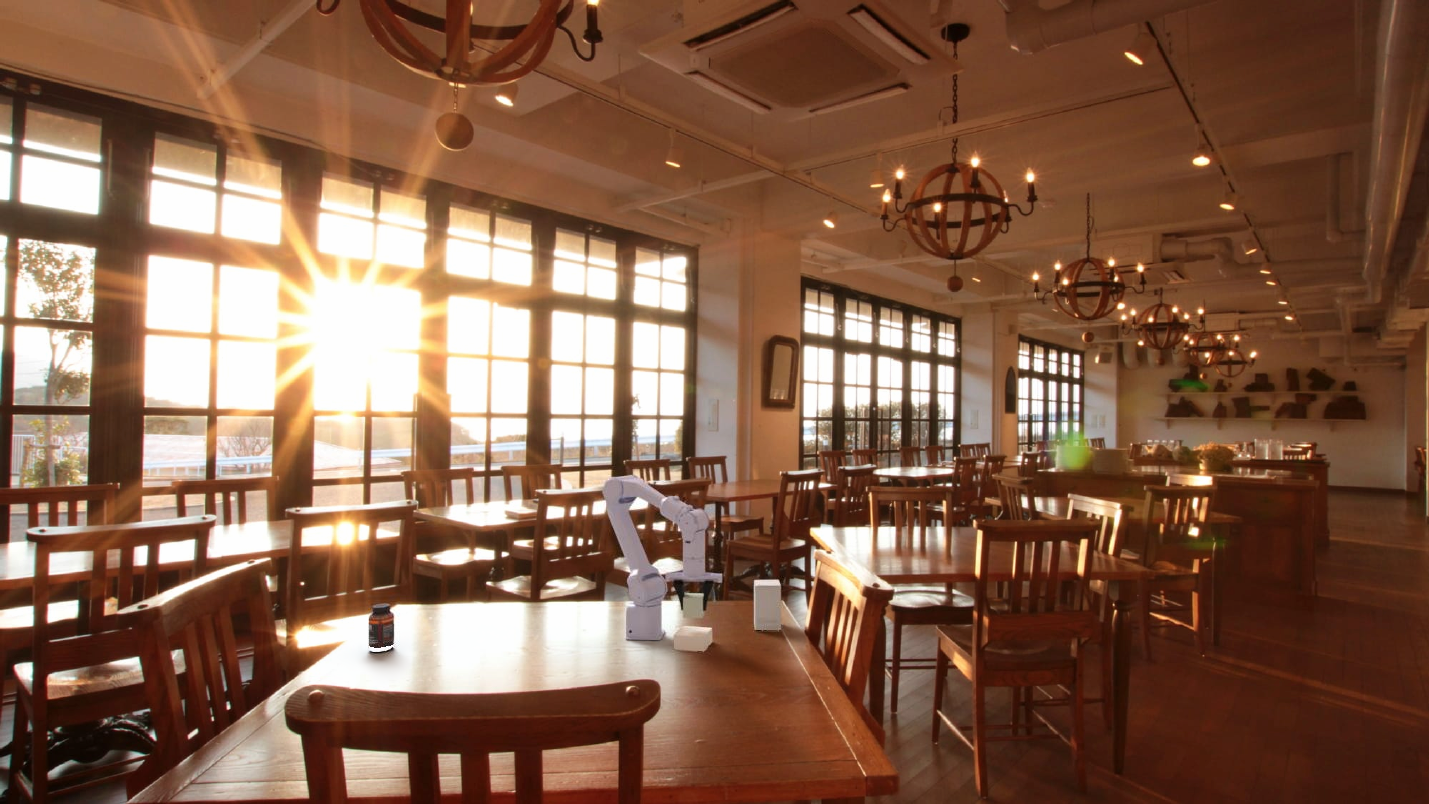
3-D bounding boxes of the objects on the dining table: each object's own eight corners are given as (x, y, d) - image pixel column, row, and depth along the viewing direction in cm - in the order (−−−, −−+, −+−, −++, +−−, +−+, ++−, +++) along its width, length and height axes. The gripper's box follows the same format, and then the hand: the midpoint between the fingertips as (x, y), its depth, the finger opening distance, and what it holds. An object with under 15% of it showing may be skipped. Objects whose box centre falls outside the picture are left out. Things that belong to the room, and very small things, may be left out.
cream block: (673, 650, 182) (673, 634, 182) (683, 640, 190) (683, 625, 190) (704, 653, 180) (703, 637, 180) (712, 643, 188) (712, 627, 188)
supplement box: (781, 631, 197) (781, 585, 197) (754, 631, 197) (754, 585, 197) (779, 623, 204) (779, 579, 204) (753, 623, 204) (753, 579, 204)
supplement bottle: (398, 646, 185) (399, 602, 185) (386, 654, 179) (386, 608, 179) (377, 645, 186) (377, 601, 186) (363, 653, 180) (363, 608, 180)
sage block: (683, 617, 182) (683, 598, 183) (685, 612, 187) (685, 593, 188) (702, 618, 182) (702, 598, 182) (704, 612, 187) (704, 593, 187)
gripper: (663, 559, 182) (663, 613, 181) (720, 560, 180) (720, 614, 180) (667, 554, 189) (667, 605, 188) (722, 555, 187) (722, 607, 187)
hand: (693, 609), depth 185 cm, fingers closed on sage block, 5 cm apart
